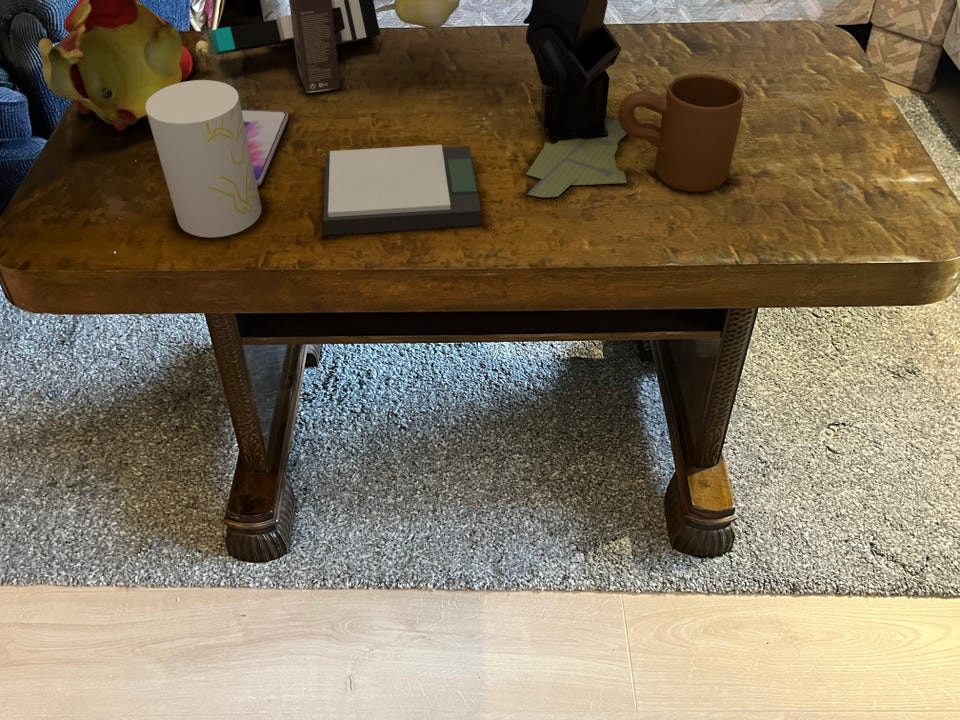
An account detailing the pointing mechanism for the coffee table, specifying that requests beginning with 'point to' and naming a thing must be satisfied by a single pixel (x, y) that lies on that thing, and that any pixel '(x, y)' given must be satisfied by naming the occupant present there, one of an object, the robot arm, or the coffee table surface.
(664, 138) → the mug
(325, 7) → the box
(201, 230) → the cup
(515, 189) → the coffee table surface
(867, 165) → the coffee table surface
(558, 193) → the map
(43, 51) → the toy
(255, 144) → the smartphone
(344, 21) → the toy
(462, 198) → the scale
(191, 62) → the toy figurine
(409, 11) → the fruit
